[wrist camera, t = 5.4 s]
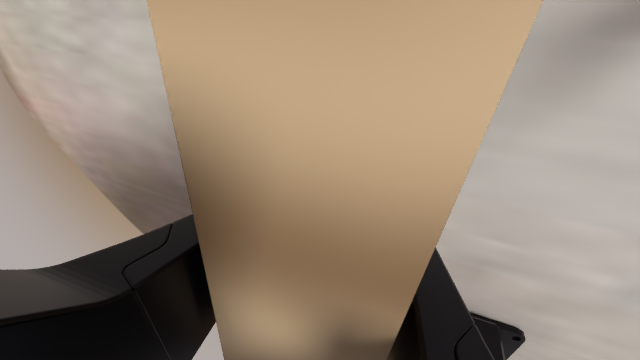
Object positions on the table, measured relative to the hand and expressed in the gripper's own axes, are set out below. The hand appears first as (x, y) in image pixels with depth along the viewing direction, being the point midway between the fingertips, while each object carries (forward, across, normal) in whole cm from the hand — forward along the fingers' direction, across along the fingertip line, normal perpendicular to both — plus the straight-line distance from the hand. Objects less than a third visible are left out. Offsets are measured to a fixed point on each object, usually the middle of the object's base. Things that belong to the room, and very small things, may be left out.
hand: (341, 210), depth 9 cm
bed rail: (+1, 0, -3) cm, 3 cm away
